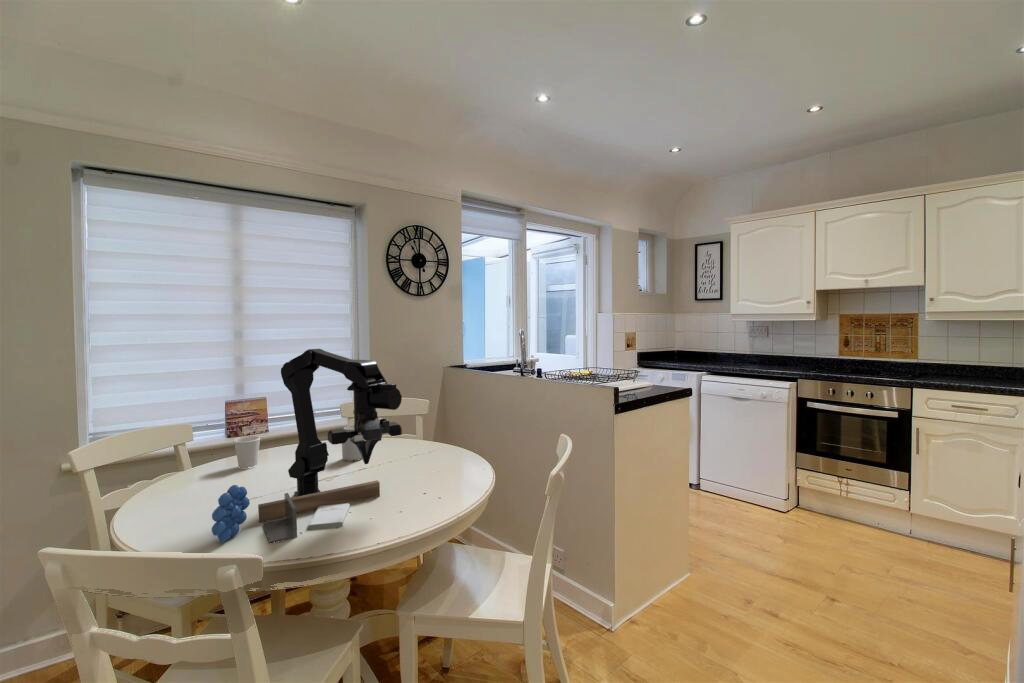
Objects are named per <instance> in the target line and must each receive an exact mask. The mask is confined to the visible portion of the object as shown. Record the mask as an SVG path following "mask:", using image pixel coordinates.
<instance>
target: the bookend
mask: <svg viewBox="0 0 1024 683" xmlns="http://www.w3.org/2000/svg"><path fill="white" fill-rule="evenodd" d="M291 498H292V497H291V496H290V494H289V493H288V492H286V493H285V492H284V499H285V517H284V518H280V519H276V520H271V521H267V522H264V523H263V522H262V523H263V528H264V532H265V534H266V536H267V540H268V543H269V544H270V543H271V544H274V542H275V543H278V541H279V542H283V541H287V540H291V539H294V538H295V539H296V538H298V524H297V522H298V521H297V520H298V519H297V516H298V515H297V514H296V507H295V505H294V503H293V501H292V499H291ZM282 540H283V541H282Z"/></svg>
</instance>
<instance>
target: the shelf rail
mask: <svg viewBox="0 0 1024 683" xmlns="http://www.w3.org/2000/svg"><path fill="white" fill-rule="evenodd" d="M380 484H381V483H380V481H379V480H373V481H367V482H362V483H359V484H358V483H356V484H353V485H348V486H343V487H339V488H333V489H329V490H323V491H321V492H318V493H313V494H308V495H303V496H298V497H296V496H294V497H290V498H291V499H292V501H293V503H294V505H295V507H296V515H300V514H304V513H309V512H314V511H316V510H317V509H318V507H319V506H324V505H336V504H347V503H348V504H350V503H353V502H358V501H362V500H367V499H371V498H376V496H377V497H379V496H381V491H380V490H381V488H380V487H381V486H380ZM257 508H258V511H257V512H258V523H263V522H262V521H264V522H268V521H267V520H269V521H273V520H277V519H276V518H278V519H283V518H285V498H283V499H278V500H274V501H269V502H265V503H264V502H263V503H261V504H257ZM272 519H273V520H272Z"/></svg>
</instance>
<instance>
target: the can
mask: <svg viewBox="0 0 1024 683" xmlns="http://www.w3.org/2000/svg"><path fill="white" fill-rule="evenodd" d="M343 429H344V430H345V431H354V425H349V426H345V427H343ZM358 434H361V433H358ZM341 456H342V459H343V460H344V461H345V460H347V461H346V462H354V461H353V460H357V461H359V460H358V459H360V460H362V457H361V454H360V452H359V449H358V447H357V446H356V444H354V443H352V442H351V441H350V438H348V440H347V441H346V442H345V443H342V444H341Z"/></svg>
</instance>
